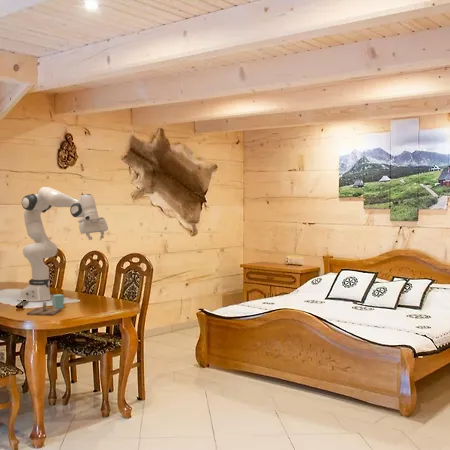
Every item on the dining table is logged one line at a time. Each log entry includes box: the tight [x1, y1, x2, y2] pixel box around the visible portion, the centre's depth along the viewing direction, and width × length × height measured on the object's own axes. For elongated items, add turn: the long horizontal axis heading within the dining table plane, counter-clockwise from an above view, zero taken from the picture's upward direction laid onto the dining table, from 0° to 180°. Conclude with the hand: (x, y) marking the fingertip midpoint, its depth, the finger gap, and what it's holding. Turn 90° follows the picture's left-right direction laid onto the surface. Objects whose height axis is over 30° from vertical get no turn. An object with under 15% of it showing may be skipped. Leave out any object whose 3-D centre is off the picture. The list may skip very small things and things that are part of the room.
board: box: [26, 301, 63, 317], centre depth 366 cm, size 16×16×6 cm
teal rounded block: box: [51, 293, 65, 309], centre depth 383 cm, size 5×6×8 cm
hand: (96, 239), depth 384 cm, fingers open, 8 cm apart
